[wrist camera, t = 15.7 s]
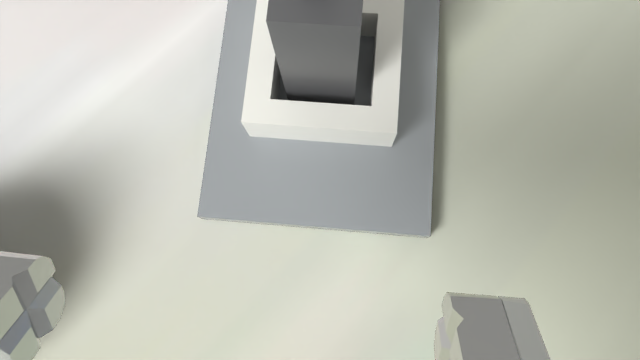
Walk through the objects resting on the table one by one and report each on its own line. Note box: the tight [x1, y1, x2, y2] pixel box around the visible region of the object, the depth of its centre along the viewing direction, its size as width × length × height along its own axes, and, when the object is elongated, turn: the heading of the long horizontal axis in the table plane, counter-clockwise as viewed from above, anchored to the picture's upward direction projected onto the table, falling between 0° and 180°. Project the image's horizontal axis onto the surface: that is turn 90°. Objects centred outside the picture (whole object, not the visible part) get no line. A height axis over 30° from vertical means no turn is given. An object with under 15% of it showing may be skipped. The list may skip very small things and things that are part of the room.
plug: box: [266, 0, 363, 105], centre depth 22 cm, size 4×4×11 cm
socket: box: [197, 0, 440, 238], centre depth 27 cm, size 18×13×4 cm
